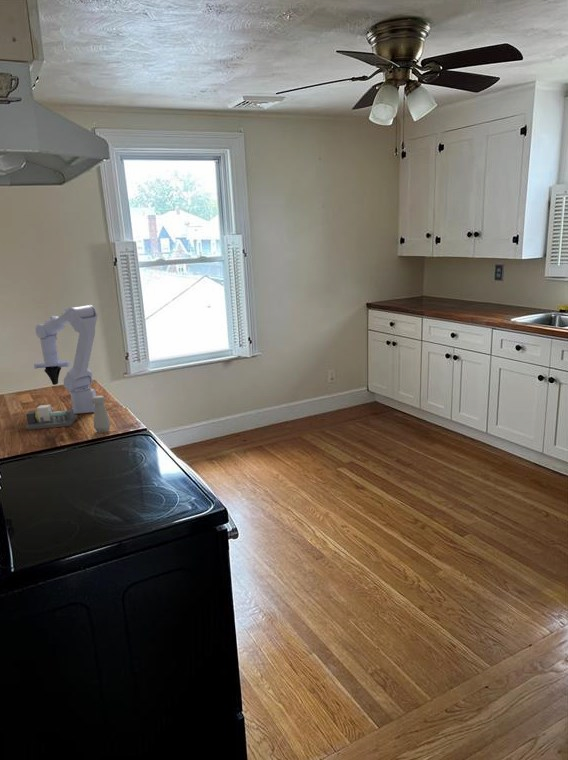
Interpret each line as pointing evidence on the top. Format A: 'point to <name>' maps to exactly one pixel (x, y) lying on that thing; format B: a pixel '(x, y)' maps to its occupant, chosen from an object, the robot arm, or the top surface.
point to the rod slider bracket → (51, 419)
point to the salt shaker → (100, 415)
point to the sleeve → (44, 412)
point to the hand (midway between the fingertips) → (55, 384)
